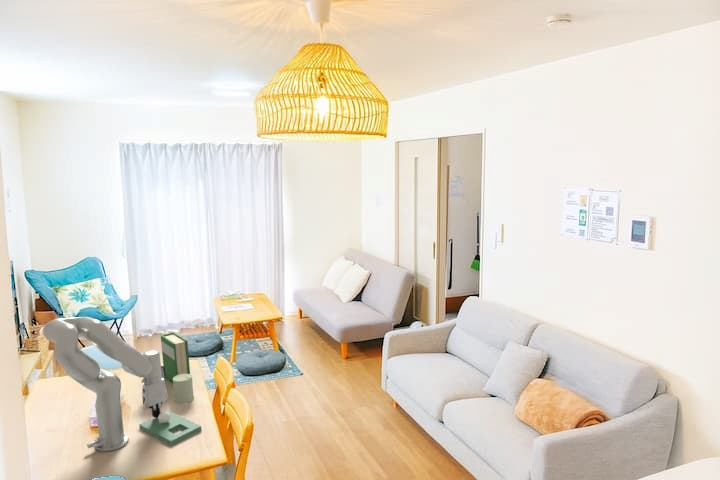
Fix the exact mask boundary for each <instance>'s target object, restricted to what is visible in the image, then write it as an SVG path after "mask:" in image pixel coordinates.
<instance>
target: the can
mask: <svg viewBox="0 0 720 480" xmlns="http://www.w3.org/2000/svg"><path fill="white" fill-rule="evenodd" d="M172 385H173V392H174V393H173V395H174V396H173V397H174V398H173V399H174V403H176V404H178V405H179V404H180V405H182V404H187V403H191V402H192V401H193V400H194V398H195V395H194V386H193V375H192V374H191V373H190V374H179V375H176V376H175V377H173V384H172Z"/></svg>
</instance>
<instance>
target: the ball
mask: <svg viewBox="0 0 720 480" xmlns="http://www.w3.org/2000/svg"><path fill="white" fill-rule="evenodd" d="M158 420H159V421H160V422H161V423H167V422H168V421H169V420H170V414H169V413H168V411H160V414H159V416H158Z"/></svg>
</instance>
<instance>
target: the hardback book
mask: <svg viewBox="0 0 720 480" xmlns="http://www.w3.org/2000/svg"><path fill="white" fill-rule="evenodd" d="M160 343H161V351H162V352H161V353H162V364H163V365H162V366H165V376H166V381H168V382H169V383H170V384H172V385H173V377H175V376H176V375H179V374H191V370H190V368H191V367H190V357H189V345H188V343H189V342H188V340H187V339H186V338H184V337H183V336H181V335H180V334H178V333H176V332H175V331H173V332H170V333H164V334H160Z"/></svg>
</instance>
